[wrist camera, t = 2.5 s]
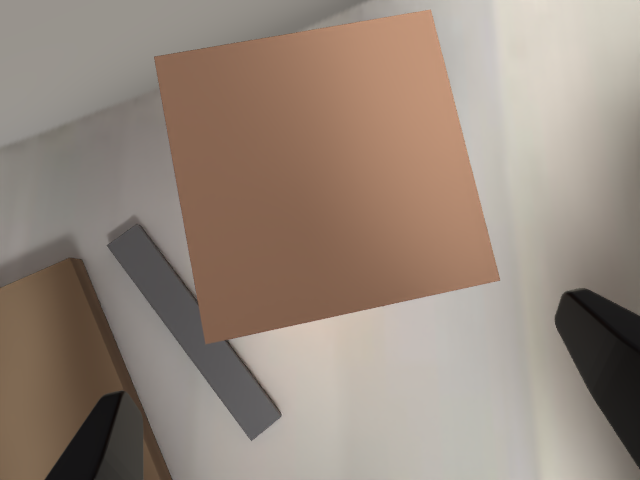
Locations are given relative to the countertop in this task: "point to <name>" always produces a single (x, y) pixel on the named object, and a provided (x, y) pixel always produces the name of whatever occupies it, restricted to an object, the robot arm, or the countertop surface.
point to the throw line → (194, 332)
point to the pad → (57, 370)
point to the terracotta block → (321, 174)
